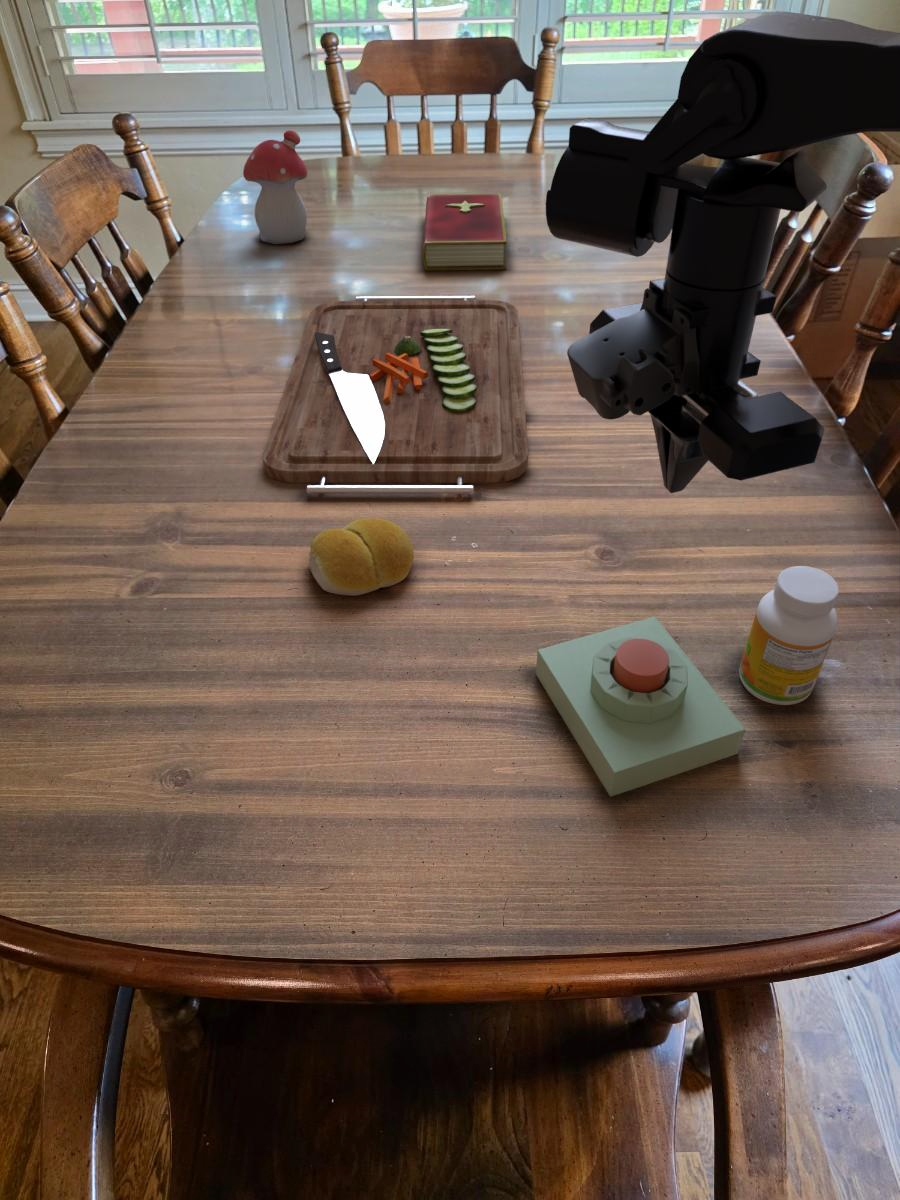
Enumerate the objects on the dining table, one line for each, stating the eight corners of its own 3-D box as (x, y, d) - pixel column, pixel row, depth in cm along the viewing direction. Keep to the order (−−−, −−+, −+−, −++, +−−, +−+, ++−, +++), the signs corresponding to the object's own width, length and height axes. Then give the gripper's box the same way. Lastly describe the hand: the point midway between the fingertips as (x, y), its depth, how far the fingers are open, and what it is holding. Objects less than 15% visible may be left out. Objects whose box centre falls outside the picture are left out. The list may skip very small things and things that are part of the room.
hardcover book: (423, 270, 125) (421, 240, 123) (426, 220, 141) (425, 192, 138) (506, 269, 125) (506, 239, 122) (500, 218, 141) (501, 191, 138)
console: (650, 640, 69) (658, 598, 66) (737, 754, 60) (752, 712, 57) (535, 674, 66) (538, 632, 63) (610, 797, 58) (617, 755, 55)
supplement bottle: (749, 645, 68) (778, 549, 62) (819, 670, 66) (857, 573, 60) (728, 690, 65) (757, 593, 58) (802, 718, 63) (840, 620, 56)
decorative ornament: (316, 230, 138) (304, 126, 128) (312, 245, 133) (299, 138, 123) (257, 231, 138) (241, 127, 128) (251, 246, 133) (233, 139, 123)
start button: (648, 650, 62) (652, 632, 61) (675, 685, 60) (679, 667, 59) (604, 663, 62) (606, 646, 60) (629, 699, 59) (632, 681, 58)
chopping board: (530, 497, 83) (531, 470, 81) (253, 497, 84) (248, 470, 82) (515, 302, 117) (516, 279, 115) (317, 303, 117) (315, 281, 115)
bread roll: (429, 577, 75) (427, 541, 72) (332, 611, 72) (327, 574, 69) (389, 526, 80) (387, 490, 78) (298, 555, 78) (292, 519, 75)
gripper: (526, 238, 56) (517, 446, 66) (680, 365, 43) (638, 599, 53) (677, 214, 59) (645, 418, 69) (865, 327, 46) (791, 557, 56)
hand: (673, 489), depth 62 cm, fingers closed
